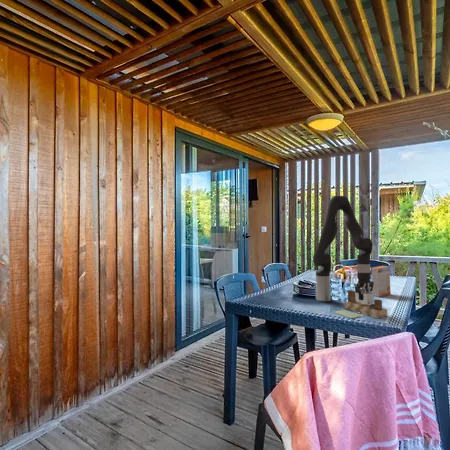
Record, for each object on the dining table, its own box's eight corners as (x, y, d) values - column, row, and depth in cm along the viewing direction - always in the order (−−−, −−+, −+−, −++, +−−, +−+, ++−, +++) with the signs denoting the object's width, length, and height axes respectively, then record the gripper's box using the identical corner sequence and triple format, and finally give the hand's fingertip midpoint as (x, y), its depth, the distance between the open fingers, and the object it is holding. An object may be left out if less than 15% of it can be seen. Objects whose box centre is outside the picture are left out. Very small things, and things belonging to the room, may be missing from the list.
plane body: (344, 308, 198) (344, 290, 198) (354, 306, 201) (353, 289, 201) (377, 318, 176) (376, 298, 176) (387, 316, 179) (386, 297, 179)
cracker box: (383, 293, 235) (382, 265, 235) (391, 294, 230) (390, 266, 230) (371, 295, 228) (371, 267, 228) (379, 297, 223) (378, 268, 223)
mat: (333, 312, 189) (333, 311, 189) (344, 310, 192) (344, 309, 192) (351, 318, 176) (351, 317, 176) (363, 316, 180) (363, 315, 180)
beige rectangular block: (355, 300, 192) (355, 289, 192) (361, 299, 194) (361, 288, 194) (367, 304, 183) (367, 292, 183) (373, 303, 185) (373, 291, 185)
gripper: (367, 269, 195) (367, 296, 195) (350, 271, 189) (350, 299, 189) (377, 271, 188) (378, 299, 188) (359, 273, 182) (360, 302, 182)
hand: (364, 299), depth 189 cm, fingers closed on beige rectangular block, 5 cm apart
